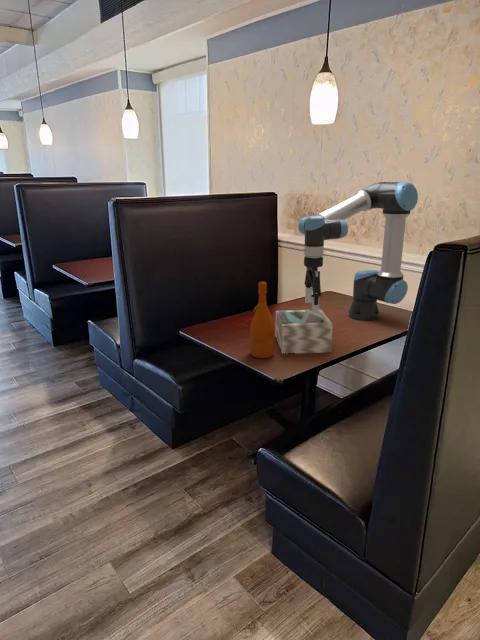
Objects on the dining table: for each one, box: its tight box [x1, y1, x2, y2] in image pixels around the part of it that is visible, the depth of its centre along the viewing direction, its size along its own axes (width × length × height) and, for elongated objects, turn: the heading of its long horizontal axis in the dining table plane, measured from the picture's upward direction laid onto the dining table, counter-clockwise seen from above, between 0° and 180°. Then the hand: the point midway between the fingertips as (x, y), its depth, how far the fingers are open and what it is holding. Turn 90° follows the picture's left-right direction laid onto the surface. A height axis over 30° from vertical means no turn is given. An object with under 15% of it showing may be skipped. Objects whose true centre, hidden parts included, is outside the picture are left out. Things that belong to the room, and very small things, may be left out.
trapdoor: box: [283, 310, 302, 324], centre depth 181 cm, size 14×14×1 cm
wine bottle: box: [249, 281, 276, 359], centre depth 169 cm, size 10×10×30 cm
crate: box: [275, 308, 333, 355], centre depth 182 cm, size 20×20×12 cm
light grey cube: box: [301, 308, 323, 323], centre depth 181 cm, size 6×6×6 cm
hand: (311, 307), depth 179 cm, fingers open, 13 cm apart
